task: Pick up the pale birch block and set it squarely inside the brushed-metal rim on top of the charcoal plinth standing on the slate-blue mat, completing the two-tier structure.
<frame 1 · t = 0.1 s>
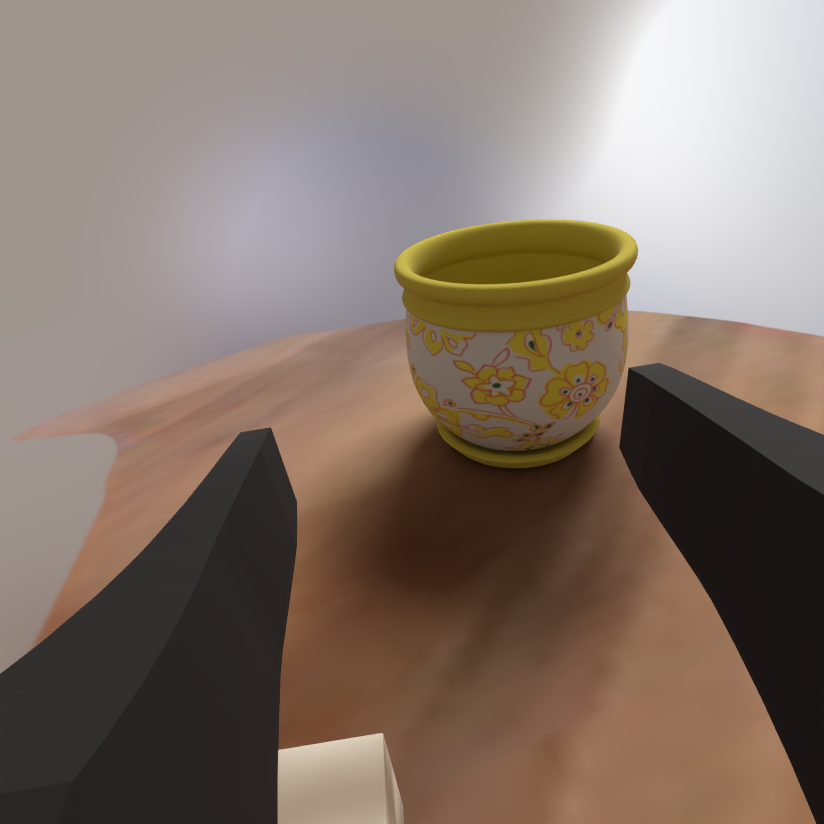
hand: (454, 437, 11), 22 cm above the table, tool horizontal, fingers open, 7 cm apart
flowerpot: (515, 429, 50), on the table
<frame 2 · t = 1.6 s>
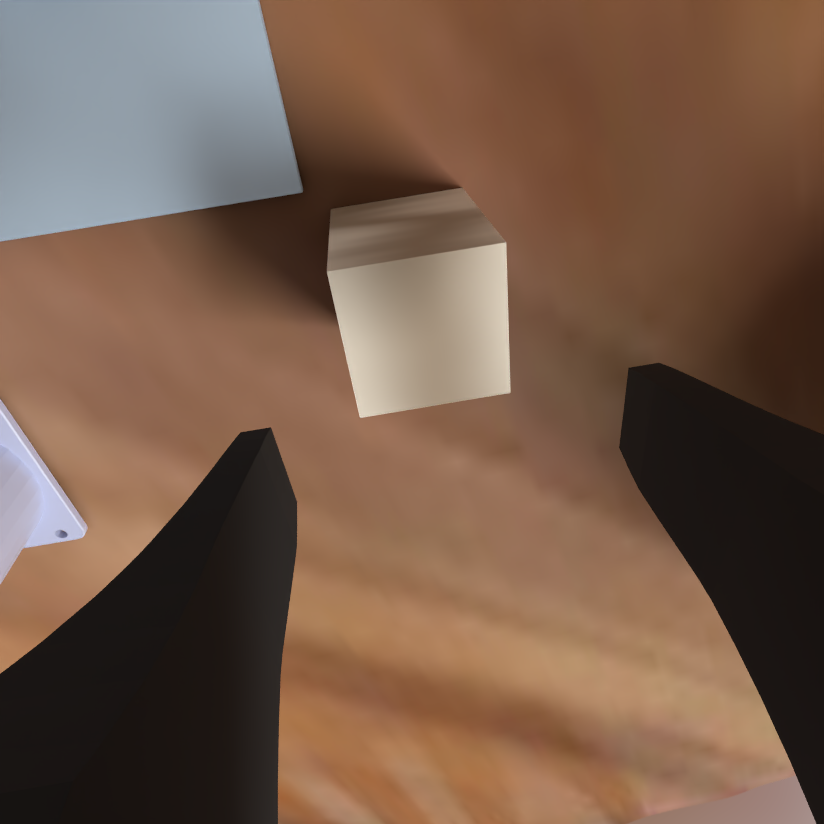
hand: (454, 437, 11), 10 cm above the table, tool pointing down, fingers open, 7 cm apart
birch block: (405, 262, 20), on the table
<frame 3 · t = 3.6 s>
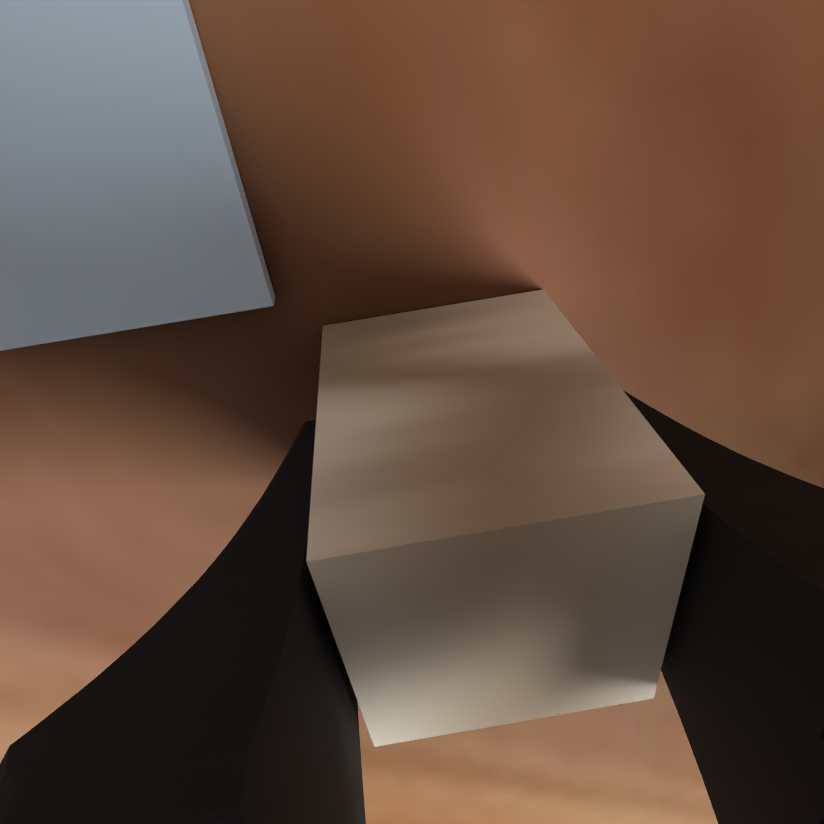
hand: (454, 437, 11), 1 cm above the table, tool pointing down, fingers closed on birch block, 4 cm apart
birch block: (443, 399, 12), on the table, touching gripper
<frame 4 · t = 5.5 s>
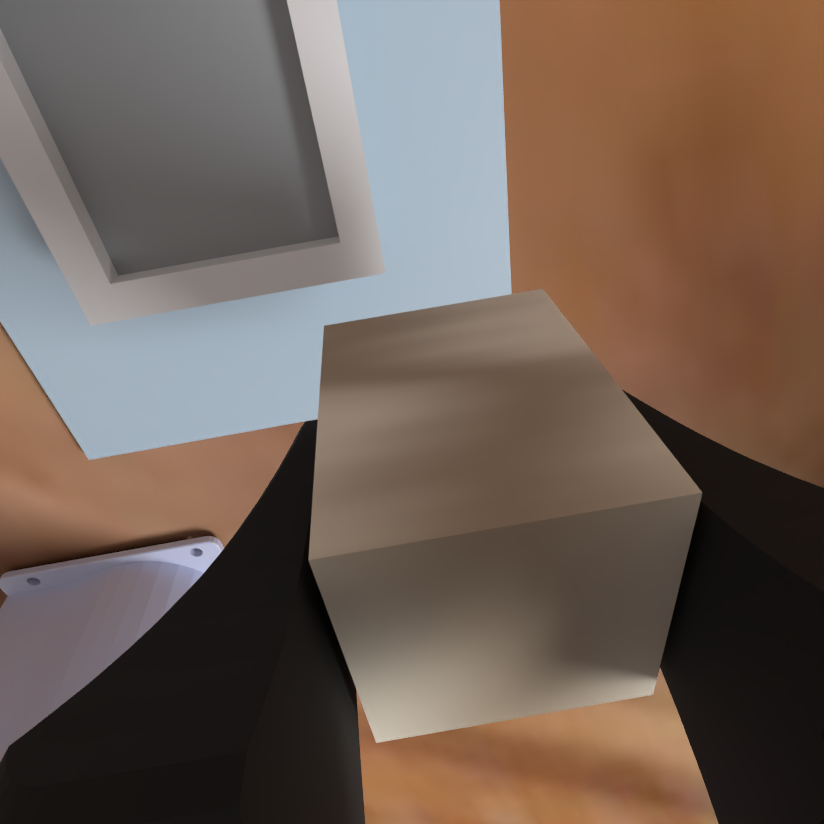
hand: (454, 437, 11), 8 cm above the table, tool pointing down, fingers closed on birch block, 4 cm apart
birch block: (444, 398, 12), point 7 cm above the table, touching gripper
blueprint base: (207, 118, 15), on the table
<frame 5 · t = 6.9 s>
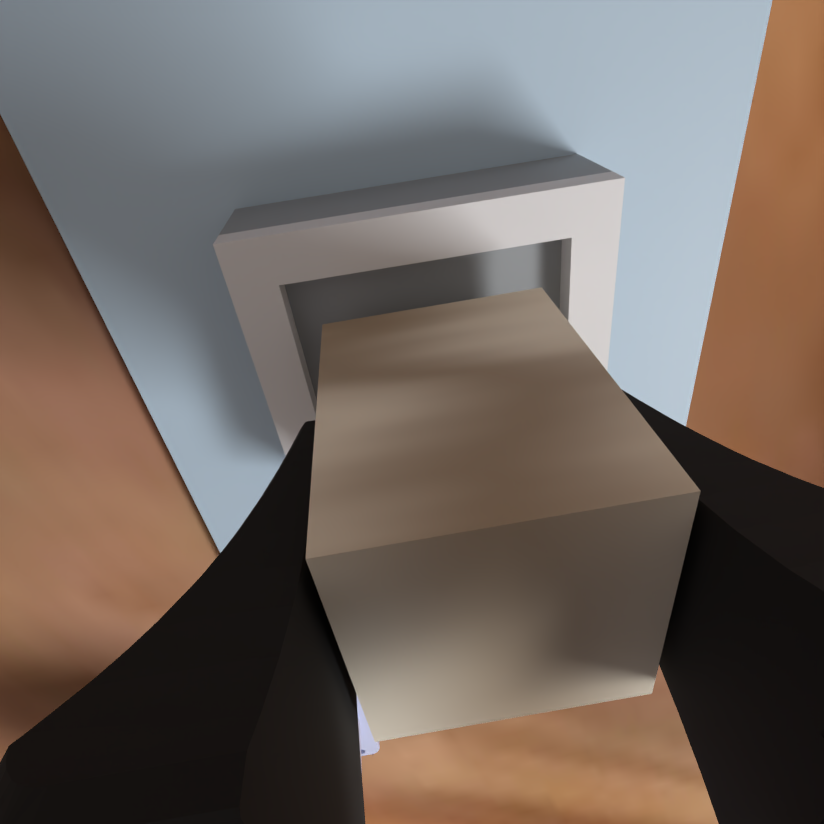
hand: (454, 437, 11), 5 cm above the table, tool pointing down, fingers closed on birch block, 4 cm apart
birch block: (443, 397, 12), point 3 cm above the table, touching gripper
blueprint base: (424, 329, 15), on the table
when the fingers open (5 cm above the table, at t = 7.7 s): birch block drops 1 cm, resting on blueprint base.
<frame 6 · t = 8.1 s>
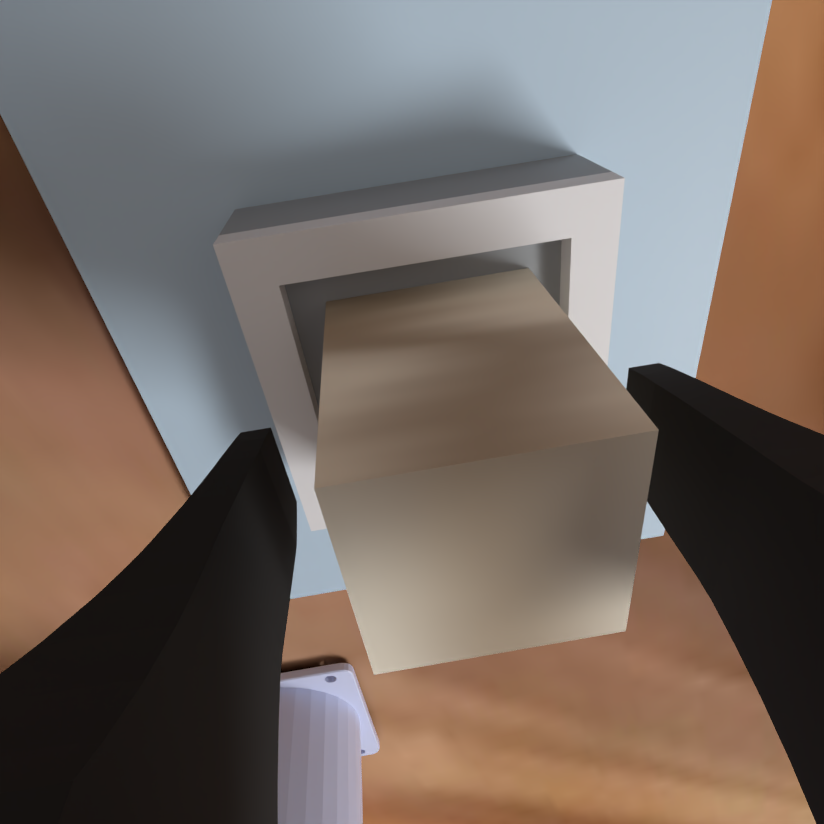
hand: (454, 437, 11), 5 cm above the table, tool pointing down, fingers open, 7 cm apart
birch block: (438, 372, 13), point 2 cm above the table, touching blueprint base
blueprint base: (424, 329, 15), on the table
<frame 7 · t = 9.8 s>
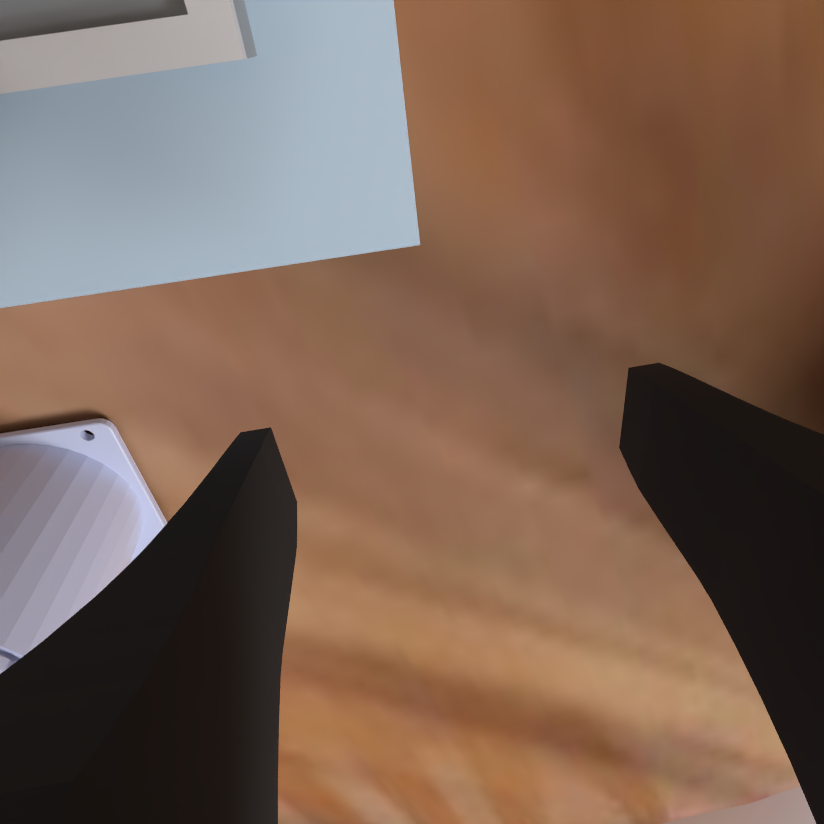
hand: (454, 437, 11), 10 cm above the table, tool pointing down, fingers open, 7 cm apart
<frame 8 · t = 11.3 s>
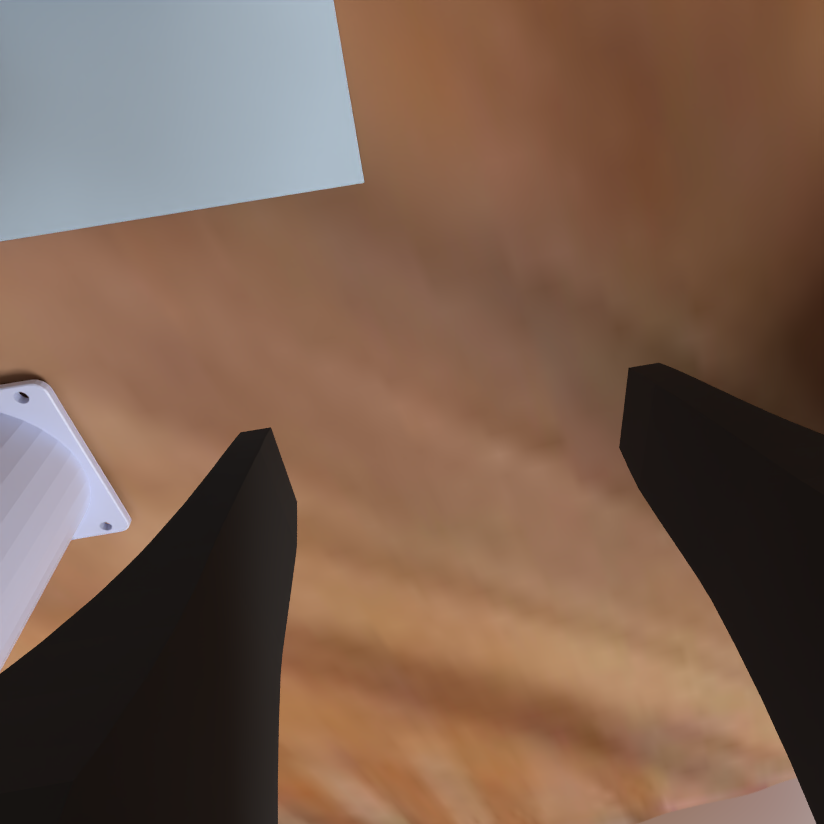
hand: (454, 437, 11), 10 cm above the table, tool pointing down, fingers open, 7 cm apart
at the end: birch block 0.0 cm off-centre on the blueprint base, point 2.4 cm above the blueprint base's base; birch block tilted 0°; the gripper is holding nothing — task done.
